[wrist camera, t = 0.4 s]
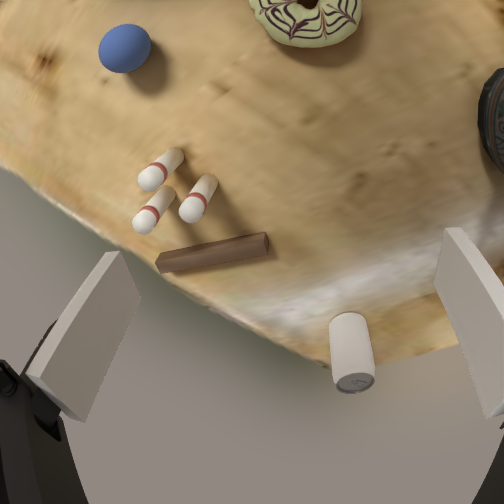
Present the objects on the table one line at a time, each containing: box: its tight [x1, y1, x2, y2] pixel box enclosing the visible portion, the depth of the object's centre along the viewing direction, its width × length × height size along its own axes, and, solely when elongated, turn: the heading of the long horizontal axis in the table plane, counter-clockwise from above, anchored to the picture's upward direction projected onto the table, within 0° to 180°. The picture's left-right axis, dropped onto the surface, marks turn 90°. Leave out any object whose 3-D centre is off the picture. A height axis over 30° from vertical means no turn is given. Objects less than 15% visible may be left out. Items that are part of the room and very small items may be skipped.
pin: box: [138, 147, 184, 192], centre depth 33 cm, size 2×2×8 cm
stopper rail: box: [155, 232, 269, 274], centre depth 43 cm, size 2×16×2 cm, turn 106°
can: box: [329, 312, 376, 394], centre depth 45 cm, size 6×6×12 cm
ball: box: [99, 24, 151, 73], centre depth 27 cm, size 6×6×6 cm
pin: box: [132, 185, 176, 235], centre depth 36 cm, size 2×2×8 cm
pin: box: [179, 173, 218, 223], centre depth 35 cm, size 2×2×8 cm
